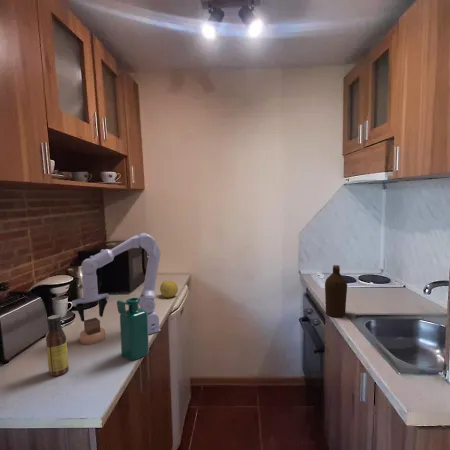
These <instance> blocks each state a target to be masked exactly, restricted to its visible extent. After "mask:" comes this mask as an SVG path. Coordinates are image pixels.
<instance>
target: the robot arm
mask: <svg viewBox="0 0 450 450" xmlns="http://www.w3.org/2000/svg"><path fill="white" fill-rule="evenodd" d="M140 247H141V248H142V249H144V250H145V252H146V253H147V254H148V258H147V264H146V270H145V277H144V282H143V288H142V290H141V293H140V295H139V297H138V298H140V299H141V300H140V301H139V302H138V306H140V307H139V309H142V310H145V311H146V312H147V314H148V336H149V335H151V334H154V333H157V332H161V331H162V329H160V318H159V315H158V314H157V313H156V302H155V289H156V282H157V281H156V280H157V275H158V269H159V265H160V264H159V263H160V258H161V250H160V248H159V245H158V243H157V240H156V239H155V238H154V237H153V235H150V234H148V233H147V232H141V233H139V234H136V235H133V236H132V237H130V238H128V239H126V240H125V241H123V242H122V243H119V244H118V245H116V246H115V247H113V248H111V249H108V248H106V249H103V248H102V249H101V250H100V252H98V253H96V254H94V255H90V256H89V258H85V259H84V260H83V261H82V262H81V271H82V273H81V274H82V294H83V295H82V297H80V298H77V299H74V300H73V299H72V300H71V304H72V306H73V307H74V308H75V309H76V311H77V312H78V315H79V317H80V321H81V322H83V323H84V320H85V306H84V305H83V304H88V303H93V302H97V304H98V315H99V317H101V318H102V317H104V311H105V308H106V306H107V304H108V299H110V295H109V293H101V294H99V288H98V275H97V270H98V269H101V268H103V267H104V266H105V265H107V264H109V263H111V262H113V261H114V260H115V259H114V258H115V257H116V256H118V255H120V254H122V253H124V252H125V251H127V250H129V249H131V248H134V249H139V248H140Z"/></svg>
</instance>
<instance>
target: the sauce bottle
mask: <svg viewBox="0 0 450 450" xmlns="http://www.w3.org/2000/svg"><path fill="white" fill-rule="evenodd" d="M46 319H47V323H48V332H47V335H46V338H45V342H46V354H47V366H48V372H49V375H50V376H52V377H58V376H61V375H64V374H66V373H68V371H69V369H70V368H69V367H70V362H69V352H68V351H69V350H68V342H67V336H66V335H65V332H64V329H63V327H62V324H61V320H62V317H61V315H60V314H53V315H51V316H48V317H47V318H46Z"/></svg>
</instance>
